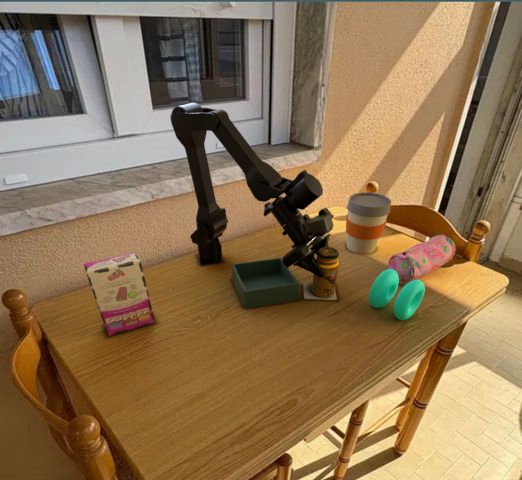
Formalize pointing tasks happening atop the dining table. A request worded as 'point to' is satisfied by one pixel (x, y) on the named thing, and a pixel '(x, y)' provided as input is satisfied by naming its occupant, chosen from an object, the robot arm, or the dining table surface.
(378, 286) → the donuts
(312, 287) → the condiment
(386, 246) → the dining table surface
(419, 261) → the pencil case
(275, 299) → the square tray
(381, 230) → the reusable coffee cup
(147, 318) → the candy bar box
